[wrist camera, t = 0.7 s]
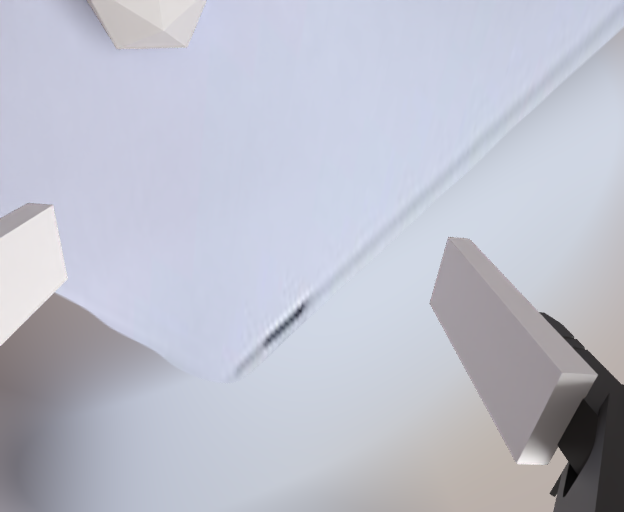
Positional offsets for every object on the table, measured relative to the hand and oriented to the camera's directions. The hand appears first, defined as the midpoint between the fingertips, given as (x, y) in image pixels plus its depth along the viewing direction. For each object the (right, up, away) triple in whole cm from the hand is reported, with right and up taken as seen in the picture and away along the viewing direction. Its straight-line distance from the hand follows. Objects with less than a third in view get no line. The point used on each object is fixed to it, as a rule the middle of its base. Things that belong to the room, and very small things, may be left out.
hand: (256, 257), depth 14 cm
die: (-10, +21, +17) cm, 29 cm away
